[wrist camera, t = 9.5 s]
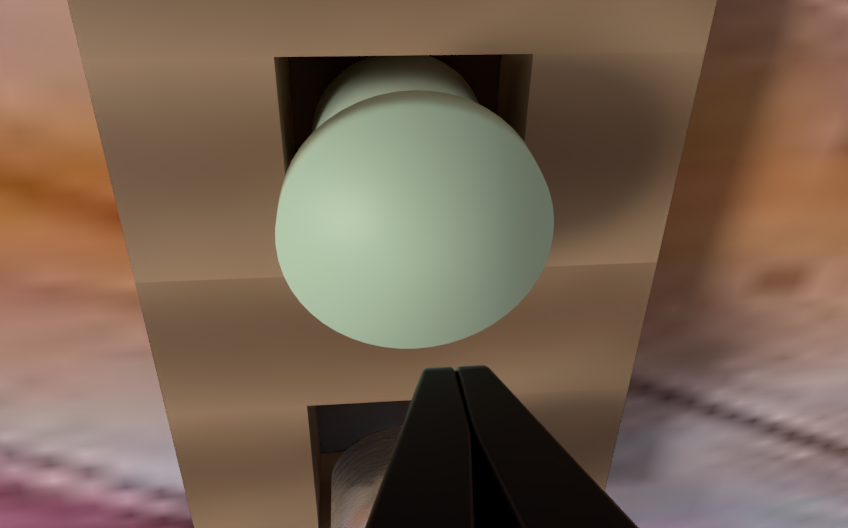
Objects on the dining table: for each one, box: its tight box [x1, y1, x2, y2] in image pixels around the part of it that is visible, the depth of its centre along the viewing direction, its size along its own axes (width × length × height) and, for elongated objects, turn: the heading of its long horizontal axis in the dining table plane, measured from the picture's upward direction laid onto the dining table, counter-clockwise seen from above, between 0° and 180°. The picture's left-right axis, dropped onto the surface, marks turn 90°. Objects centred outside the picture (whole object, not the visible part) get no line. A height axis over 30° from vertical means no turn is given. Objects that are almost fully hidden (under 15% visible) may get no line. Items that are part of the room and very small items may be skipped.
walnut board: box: [67, 0, 717, 528], centre depth 17 cm, size 28×12×3 cm, turn 179°
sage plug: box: [275, 55, 554, 349], centre depth 15 cm, size 5×5×5 cm
